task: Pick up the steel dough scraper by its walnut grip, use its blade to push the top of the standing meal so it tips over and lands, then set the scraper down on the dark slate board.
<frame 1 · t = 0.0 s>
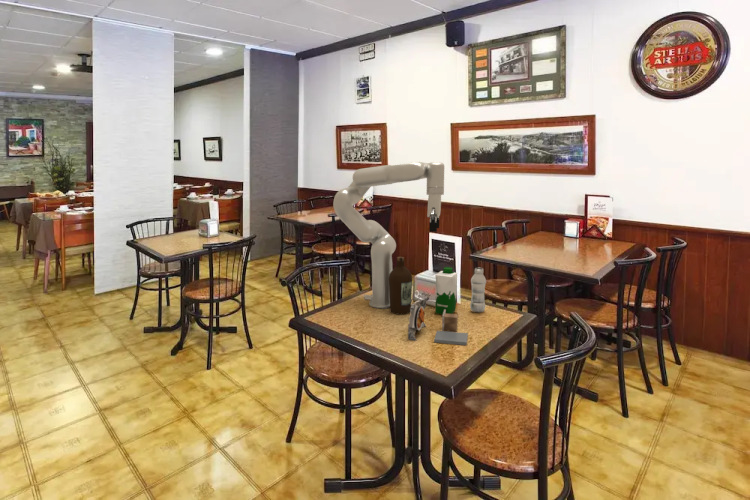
hand: (434, 229, 198), 37 cm above the table, tool pointing down, fingers open, 9 cm apart
meal: (418, 334, 177), on the table
slate board: (451, 339, 171), on the table
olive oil: (400, 311, 203), on the table
milk carton: (445, 312, 201), on the table
plastic bottle: (477, 312, 201), on the table
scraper: (450, 329, 181), on the table
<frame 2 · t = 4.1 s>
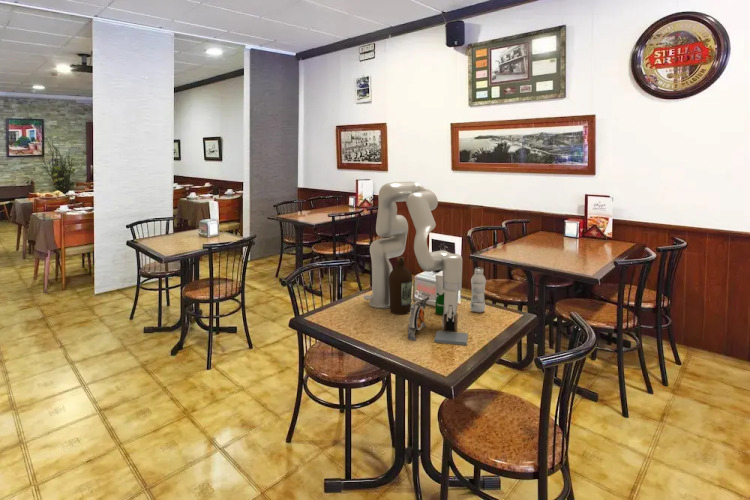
hand: (450, 328, 181), 1 cm above the table, tool pointing down, fingers closed on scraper, 4 cm apart
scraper: (450, 329, 181), on the table, touching gripper
everything else where it was.
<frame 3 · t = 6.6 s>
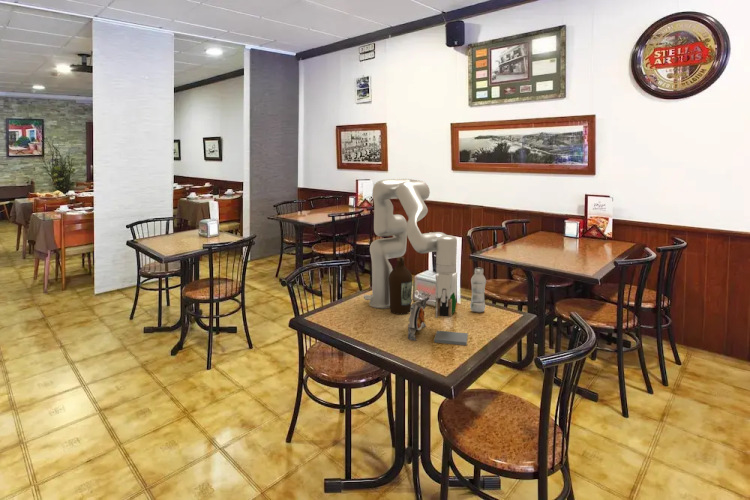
hand: (444, 313, 173), 9 cm above the table, tool pointing down, fingers closed on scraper, 4 cm apart
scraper: (444, 314, 173), point 9 cm above the table, touching gripper
everything else where it was.
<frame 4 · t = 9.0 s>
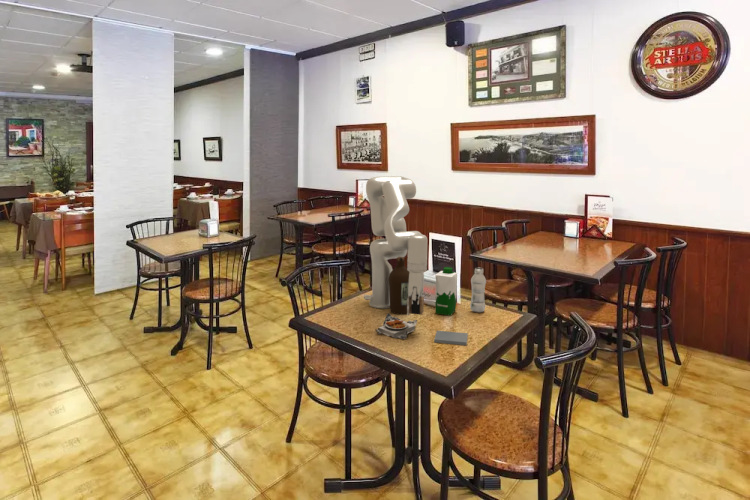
hand: (416, 311, 175), 9 cm above the table, tool pointing down, fingers closed on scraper, 4 cm apart
meal: (412, 327, 177), point 2 cm above the table
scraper: (416, 312, 176), point 9 cm above the table, touching gripper
everything else where it was.
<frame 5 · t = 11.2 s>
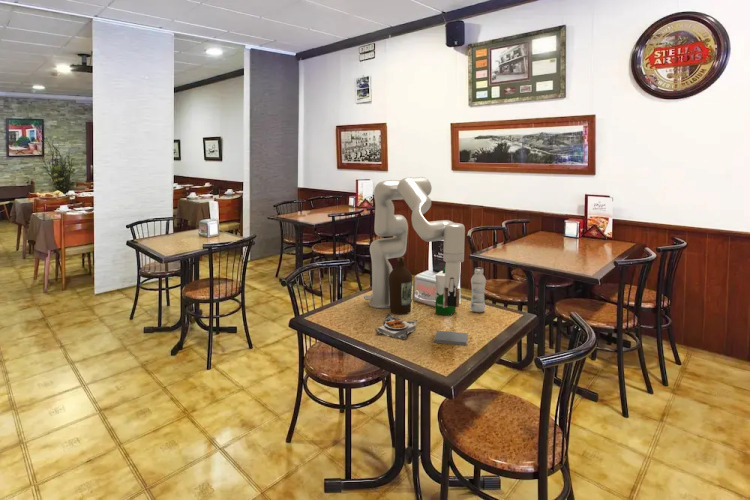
hand: (452, 303, 168), 14 cm above the table, tool pointing down, fingers closed on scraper, 4 cm apart
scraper: (452, 304, 168), point 14 cm above the table, touching gripper
everything else where it was.
when the fingers open (3 cm above the table, at t = 13.5 s): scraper stays where it is, resting on slate board.
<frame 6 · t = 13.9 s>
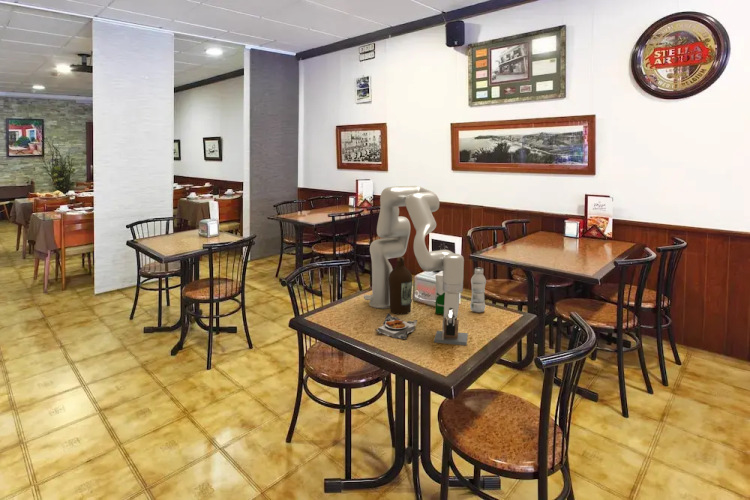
hand: (451, 330, 170), 4 cm above the table, tool pointing down, fingers open, 8 cm apart
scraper: (451, 336, 171), point 1 cm above the table, touching slate board
everything else where it was.
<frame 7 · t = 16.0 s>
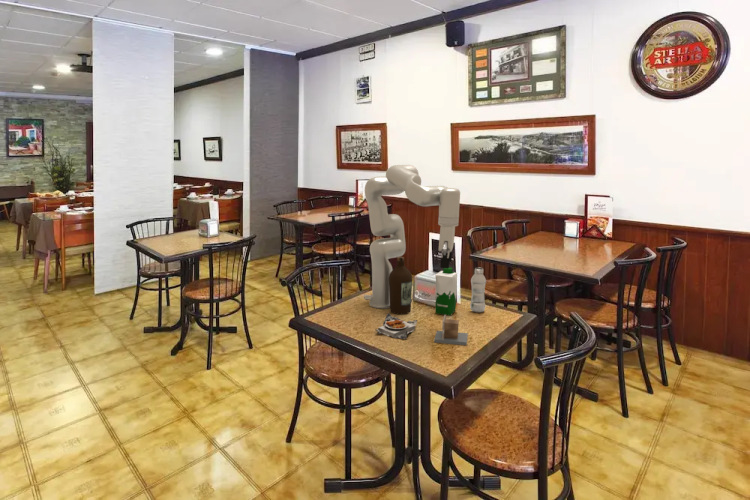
hand: (445, 264, 173), 28 cm above the table, tool pointing down, fingers open, 9 cm apart
nothing on the table moved.
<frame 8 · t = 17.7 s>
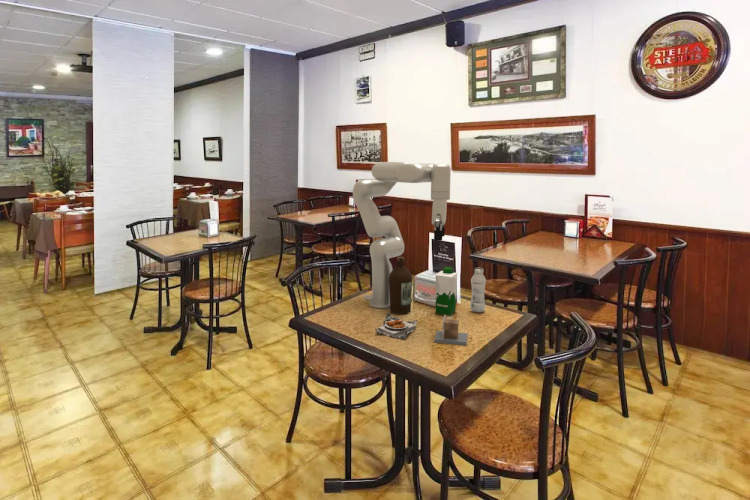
hand: (439, 238, 180), 36 cm above the table, tool pointing down, fingers open, 9 cm apart
nothing on the table moved.
at the end: meal tilted 90°; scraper 0.1 cm from the slate board (horizontally); the gripper is holding nothing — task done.
